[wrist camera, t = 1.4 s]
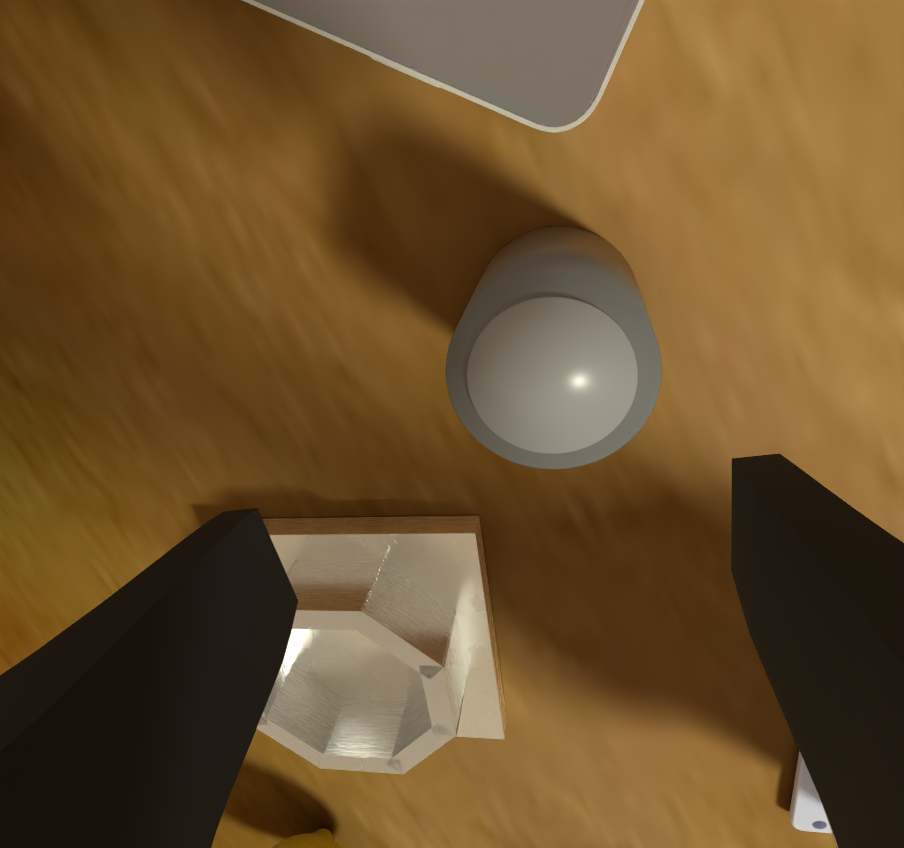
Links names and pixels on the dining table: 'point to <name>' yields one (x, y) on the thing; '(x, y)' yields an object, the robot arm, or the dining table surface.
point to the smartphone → (485, 47)
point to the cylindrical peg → (555, 352)
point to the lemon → (310, 840)
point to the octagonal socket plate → (384, 641)
